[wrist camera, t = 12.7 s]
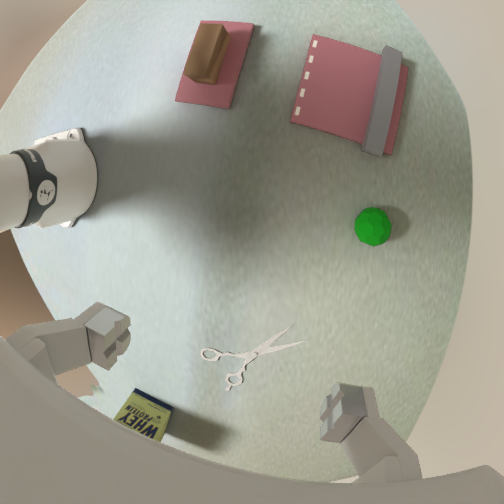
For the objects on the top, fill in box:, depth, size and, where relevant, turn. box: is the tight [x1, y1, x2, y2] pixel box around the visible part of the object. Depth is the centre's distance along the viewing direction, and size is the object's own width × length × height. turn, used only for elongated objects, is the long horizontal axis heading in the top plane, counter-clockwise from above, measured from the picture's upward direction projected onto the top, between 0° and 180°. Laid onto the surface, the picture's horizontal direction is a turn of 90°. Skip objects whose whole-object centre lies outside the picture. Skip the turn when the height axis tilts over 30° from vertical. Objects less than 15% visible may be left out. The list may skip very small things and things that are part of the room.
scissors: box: [200, 324, 307, 391], centre depth 45 cm, size 11×1×20 cm
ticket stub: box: [175, 21, 254, 109], centre depth 28 cm, size 8×14×6 cm, turn 166°
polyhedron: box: [354, 207, 392, 246], centre depth 33 cm, size 5×5×5 cm
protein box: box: [113, 388, 173, 442], centre depth 49 cm, size 10×16×16 cm
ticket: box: [290, 34, 408, 157], centre depth 28 cm, size 14×16×3 cm
